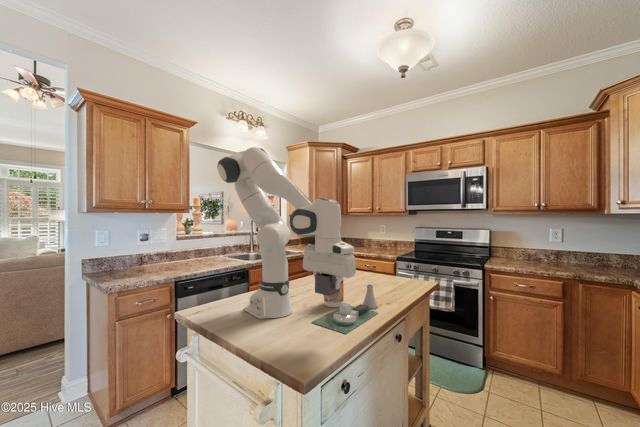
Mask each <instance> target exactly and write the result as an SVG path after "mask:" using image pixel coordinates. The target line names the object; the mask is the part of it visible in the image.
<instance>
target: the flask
mask: <svg viewBox="0 0 640 427" xmlns="http://www.w3.org/2000/svg"><path fill="white" fill-rule="evenodd" d="M362 305H367V306H368V310H372V309H375V310H376V309H377V308H378V307H379V305H378V302H377V300H376V297H375V294H374V285H373V284H372V283H371V284H370V283H369V284H366V293H365V296H364V299H363V303H362Z"/></svg>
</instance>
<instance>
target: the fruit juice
mask: <svg viewBox="0 0 640 427" xmlns="http://www.w3.org/2000/svg"><path fill="white" fill-rule="evenodd" d="M342 303H345V302H344V278H343V279H342V281H341V283H340V292H338V293H336V294H333V295H331V296H327V295H323V305H324V306H325V307H328V308H340V304H342Z"/></svg>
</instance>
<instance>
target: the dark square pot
mask: <svg viewBox="0 0 640 427" xmlns="http://www.w3.org/2000/svg"><path fill="white" fill-rule="evenodd" d="M336 281H337V279H336V276H335V275H329V274H324V273H320V274H316V275H315V278H314V293H315V294H316V293H317V294H319V295H323V296H324V295H327V296H331V295H333V294H336V293H338V292H340V288H339V289H334V288H333V283H336Z"/></svg>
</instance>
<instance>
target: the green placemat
mask: <svg viewBox="0 0 640 427" xmlns="http://www.w3.org/2000/svg"><path fill="white" fill-rule="evenodd" d="M377 315H379V312H377V311H374V310H371V309H368V306H367V305H363V303H362V304H361V303H360V304H358V305H356V306H353V305H351V303H350V304H349V303H346V302H343V303H342V304H340V307H338V308H337V309H335V310H333V311H331V312H329V313H327V314H325V315H323V316H320V317H318V318H316V319H314V320H311V323H312V324H314V325H316V326H320V327H323V328H327V329H329V330H332V331H335V332H338V333H341V334H345V335H347V334H348V333H350V332H351V331H353V330H355V329H357V328H358V327H360V326H361V325H363V324H365V322H368V321H369V320H371V319H372V318H374V317H375V316H377Z"/></svg>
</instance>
